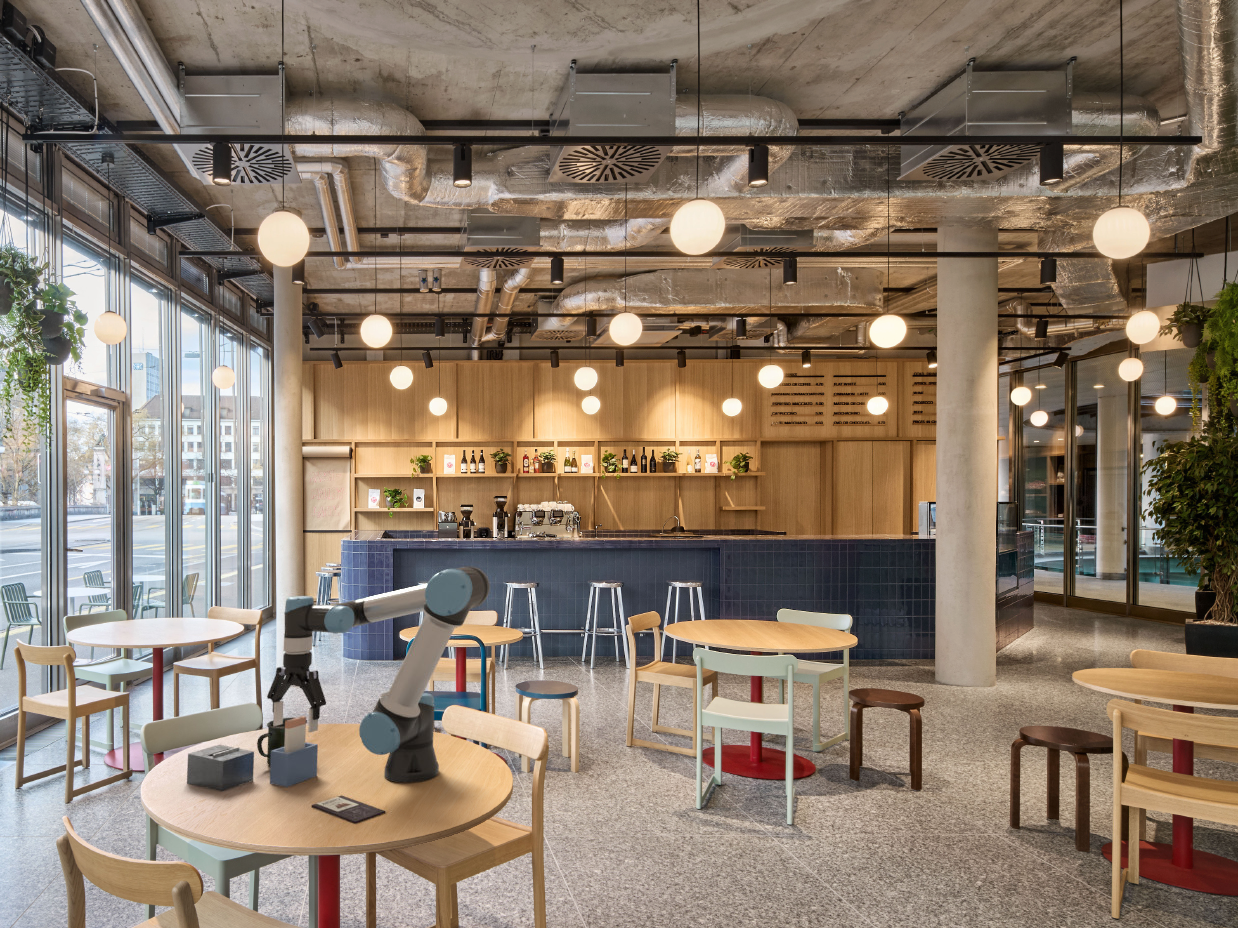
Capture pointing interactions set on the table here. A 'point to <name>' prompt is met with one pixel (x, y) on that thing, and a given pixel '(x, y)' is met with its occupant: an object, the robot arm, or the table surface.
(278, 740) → the mug
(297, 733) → the ticket
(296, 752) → the blue open box
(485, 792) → the table surface
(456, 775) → the table surface
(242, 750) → the dispenser
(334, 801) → the chocolate bar
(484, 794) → the table surface
